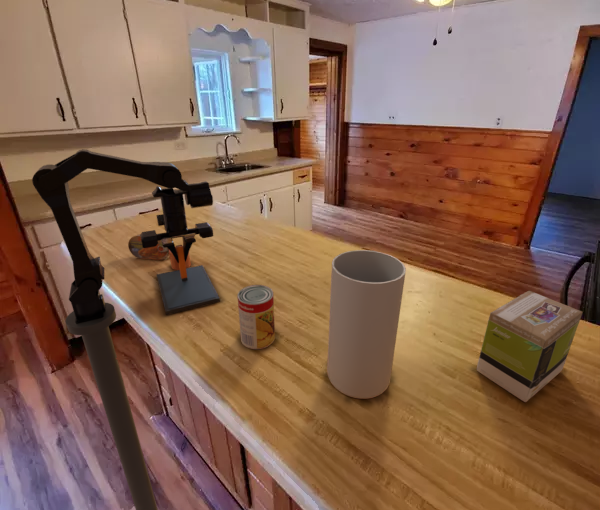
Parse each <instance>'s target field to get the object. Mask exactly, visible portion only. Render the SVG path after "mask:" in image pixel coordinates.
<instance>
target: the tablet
mask: <svg viewBox="0 0 600 510" xmlns="http://www.w3.org/2000/svg"><path fill="white" fill-rule="evenodd" d="M186 272H187V279H188V280H187V281H183V282H182V280H181V274H180V270H170V271H167V272H161V273H157V274H156V278H157V282H158V287H159V291H160V296H161V300H162V304H163V307H164V312H165V316H168V315H172V314H176V313H180V312H184V311H185V312H186V311H189V310H193V309H196V308H201V307H204V306H208V305H213V304H216V303H219V302H221V298H220V295H219V294H218V292H217V290H216V288H215V286H214V285H213V282H212V281H211V279H210V277H209V275H208V272H207V271H206V270H205V267H204V265H203V264H200V265H195V266H190V267H188V268H186Z"/></svg>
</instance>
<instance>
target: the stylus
mask: <svg viewBox="0 0 600 510" xmlns="http://www.w3.org/2000/svg"><path fill="white" fill-rule="evenodd" d="M175 246H176V249H177V255H178V258H179V268H180V274H181V280H182V282H183V281H187V280H188V279H187V272H186V266H185V260H184V252H183V244H178V245H175Z"/></svg>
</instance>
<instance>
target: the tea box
mask: <svg viewBox="0 0 600 510" xmlns="http://www.w3.org/2000/svg"><path fill="white" fill-rule="evenodd" d="M583 312H584V311H582V310H579V309H577V308H574V307H572V306H569V305H567V304H564V303H561V302H560V301H556V300H554V299H552V298H549V297H547V296H544V295H542V294H539V293H537V292H534V291H532V290H528V291H526V292H524V293H522V294H520V295H518V296H517V297H515V298H513V299H511V300H510V301H508V302H506V303H504V304H503V305H501V306H499V307H497V308H496V309H494V310H493V311H491V312H490V313H489V316H488V319H487V323H486V329H485V332H484V335H483V336H484V337H483V340H482V345H481V349H480V353H479V358H478V361H477V366H476V371H477V372H478V373H480V374H481V375H483V376H484V377H485V378H487V379H489V380H490V381H492V382H493V383H495V384H496V385H498V386H499V387H501V388H502V389H504V390H505V391H507V392H508V393H510V394H512V395H513V396H514V397H515V398H517V399H519V400H520V401H522V402H524V403H527V402H528V401H529V400H531V399H532V398H533V397H534V396H535V395H536V394H537V393H538V392H539V391H541V390H542V389H543V388H545V386H546V385H547V384H549V383H550V382H551V381H552V380H553V379H555V377H557V376H558V375H559V374H560V373H561V372H562V371H563V370H564V366H565V364H566V361H567V359H568V355H569V352H570V350H571V347H572V344H573V341H574V338H575V336H576V332H577V329H578V327H579V325H580V322H581V319H582V316H583Z"/></svg>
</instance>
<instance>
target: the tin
mask: <svg viewBox="0 0 600 510" xmlns="http://www.w3.org/2000/svg"><path fill="white" fill-rule="evenodd" d="M140 234H141V233H140ZM140 234H137V235H133V236H132V237H130V238H129V240H128V242H127V247H128V250H129V252H130V254H132V256H133V257H135V258H136V259H141V260H155V261H156V260H157V261H162V260H165V259H166V258H168V257H170V255H169V249H168V248H167V247H166V248H164V247H163V245H162V242H161V240H160V241H158V244H157V245H156V246H155V247H150V248H143V246H142V241H141V236H140Z"/></svg>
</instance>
